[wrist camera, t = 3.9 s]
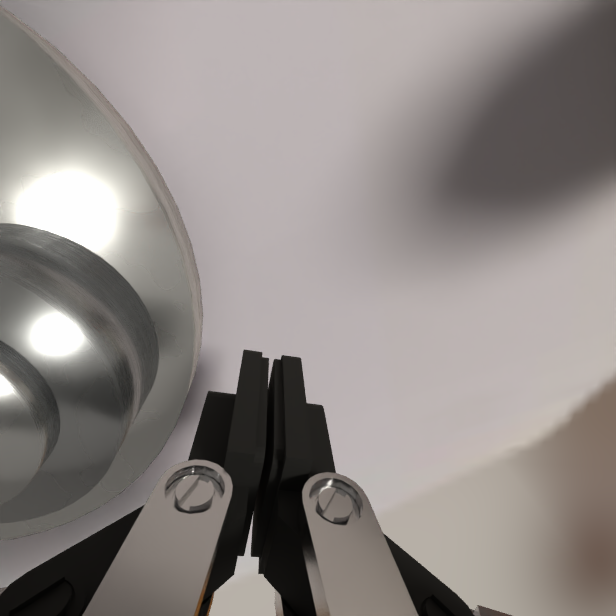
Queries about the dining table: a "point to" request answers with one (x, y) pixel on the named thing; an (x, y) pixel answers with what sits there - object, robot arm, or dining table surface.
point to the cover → (65, 369)
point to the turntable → (98, 228)
